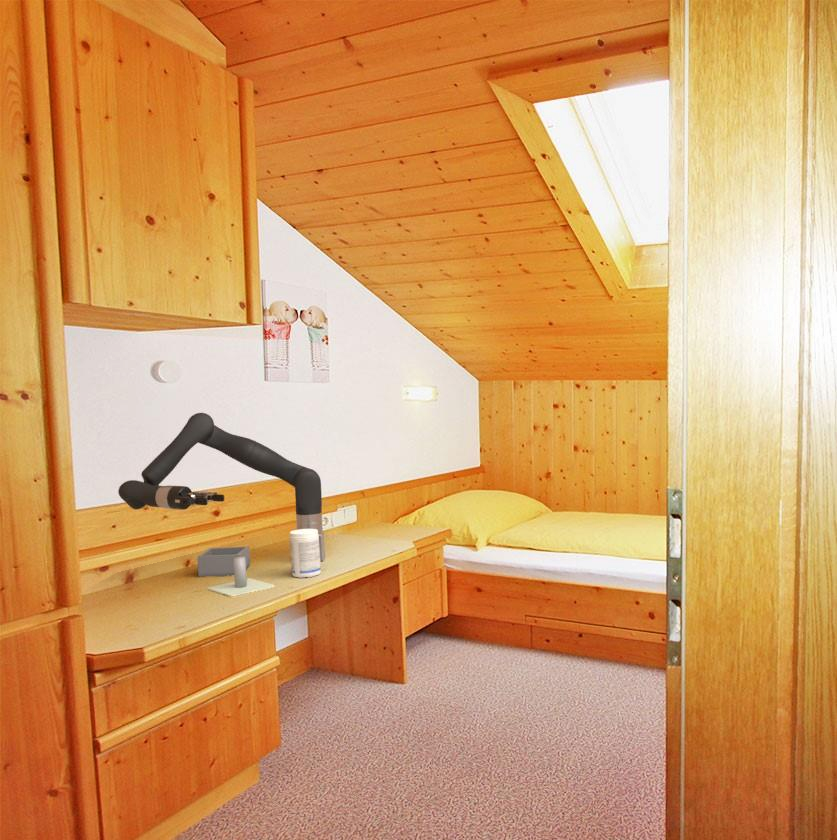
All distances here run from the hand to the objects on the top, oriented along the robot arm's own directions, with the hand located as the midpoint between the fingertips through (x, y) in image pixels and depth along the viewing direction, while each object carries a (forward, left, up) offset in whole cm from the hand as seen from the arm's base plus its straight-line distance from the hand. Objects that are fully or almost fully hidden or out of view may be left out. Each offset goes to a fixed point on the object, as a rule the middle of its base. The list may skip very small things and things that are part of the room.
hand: (215, 499), depth 228 cm
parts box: (+4, -21, -28) cm, 35 cm away
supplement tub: (-26, -11, -28) cm, 39 cm away
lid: (-8, +3, -28) cm, 29 cm away
